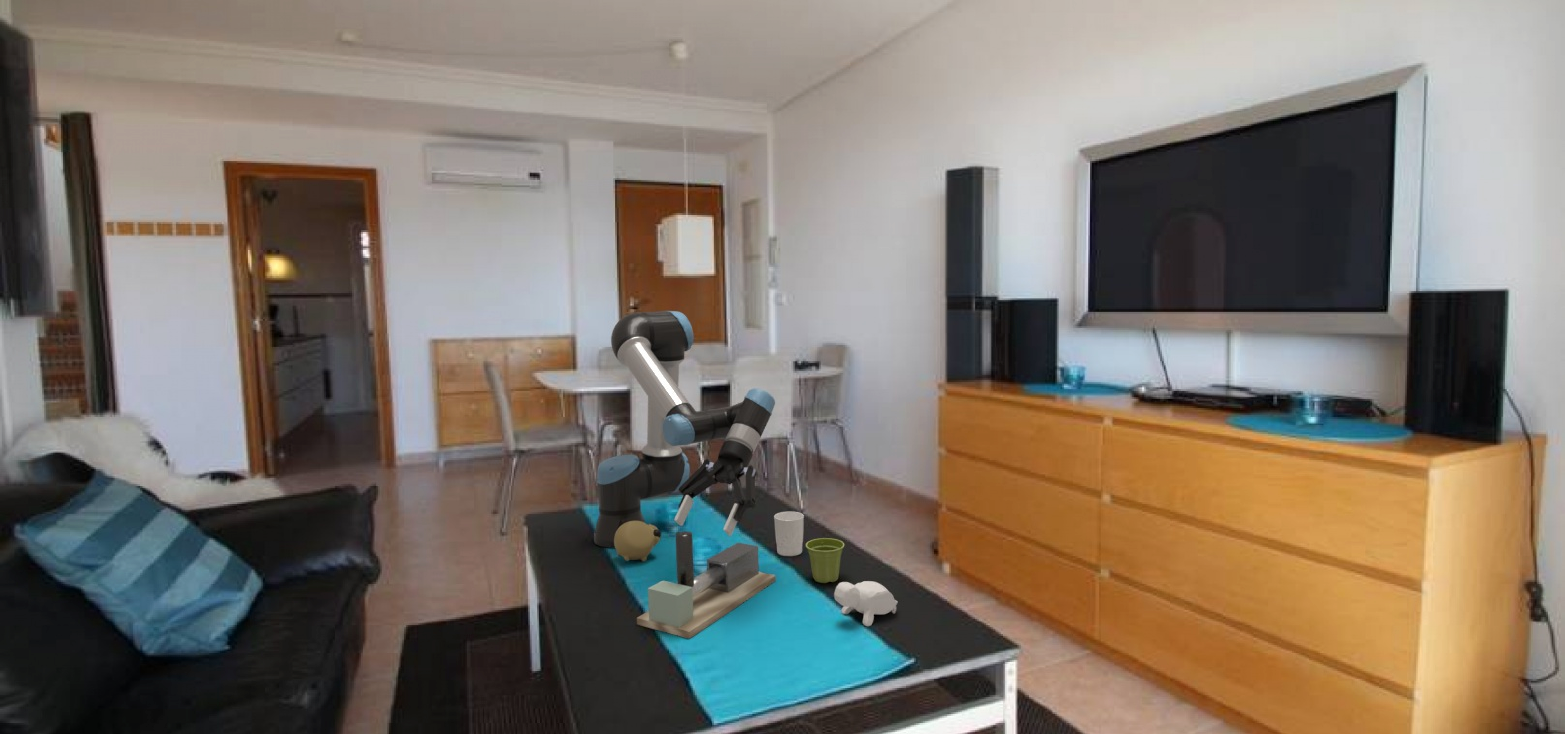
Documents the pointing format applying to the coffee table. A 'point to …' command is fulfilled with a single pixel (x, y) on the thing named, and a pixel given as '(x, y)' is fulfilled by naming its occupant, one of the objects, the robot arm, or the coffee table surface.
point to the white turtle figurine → (865, 599)
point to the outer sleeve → (735, 565)
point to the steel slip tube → (687, 571)
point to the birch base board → (711, 606)
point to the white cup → (789, 533)
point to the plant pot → (825, 558)
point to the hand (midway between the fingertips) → (702, 527)
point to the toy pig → (636, 540)
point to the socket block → (670, 603)
